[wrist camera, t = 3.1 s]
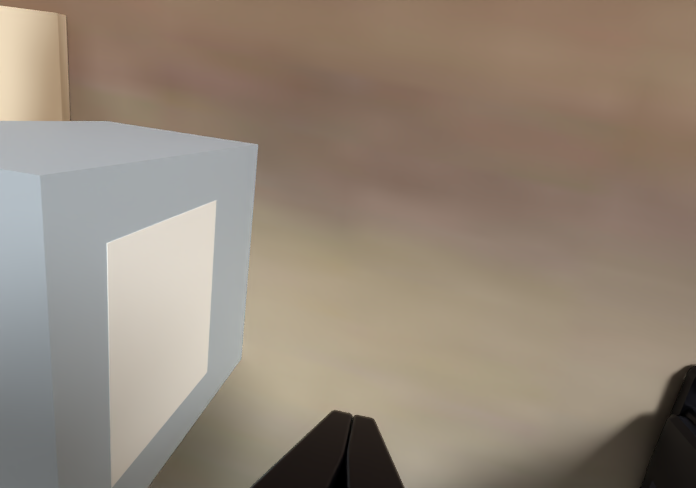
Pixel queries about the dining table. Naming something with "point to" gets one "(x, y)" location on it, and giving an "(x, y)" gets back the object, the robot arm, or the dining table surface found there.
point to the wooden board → (33, 66)
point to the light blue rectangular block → (115, 295)
